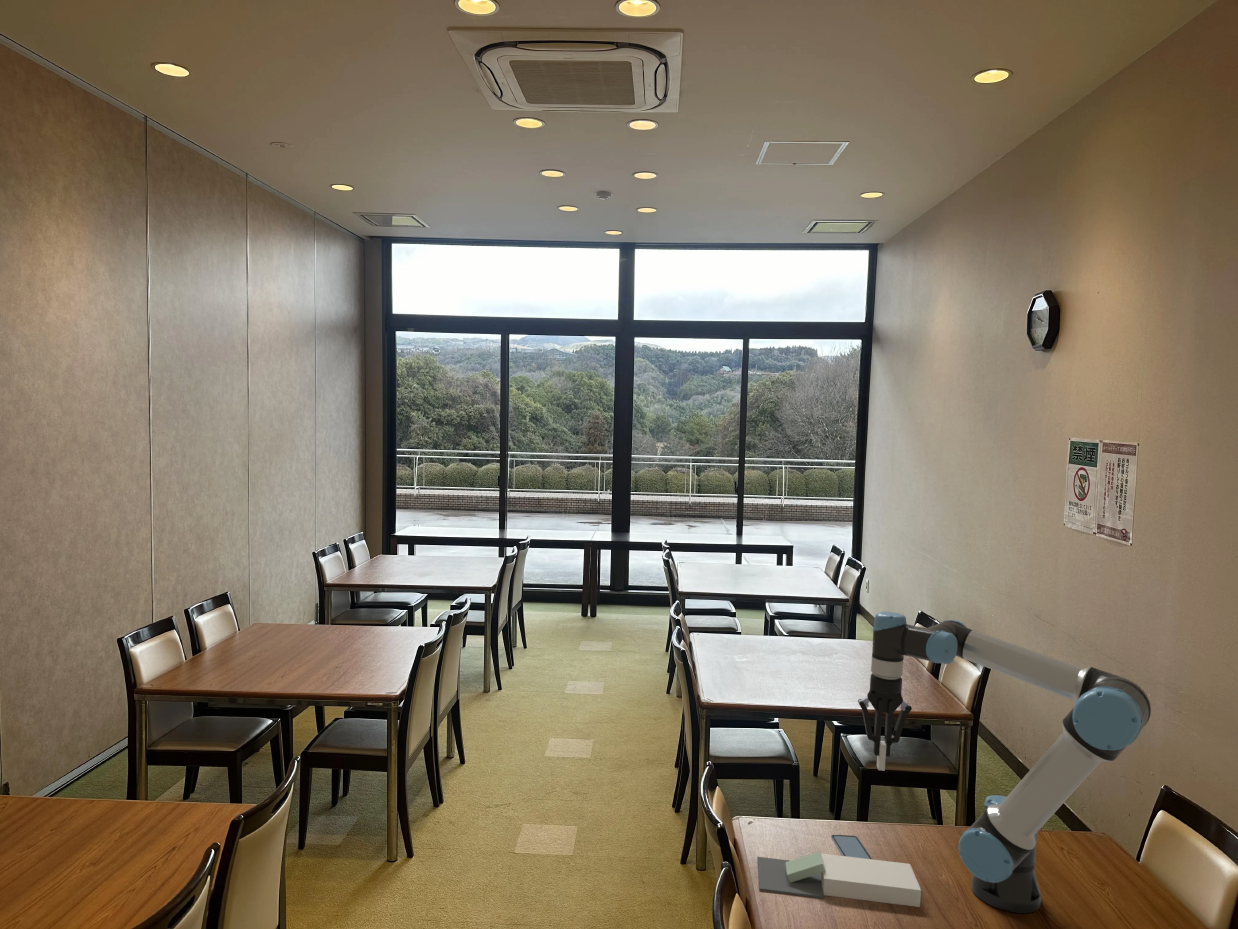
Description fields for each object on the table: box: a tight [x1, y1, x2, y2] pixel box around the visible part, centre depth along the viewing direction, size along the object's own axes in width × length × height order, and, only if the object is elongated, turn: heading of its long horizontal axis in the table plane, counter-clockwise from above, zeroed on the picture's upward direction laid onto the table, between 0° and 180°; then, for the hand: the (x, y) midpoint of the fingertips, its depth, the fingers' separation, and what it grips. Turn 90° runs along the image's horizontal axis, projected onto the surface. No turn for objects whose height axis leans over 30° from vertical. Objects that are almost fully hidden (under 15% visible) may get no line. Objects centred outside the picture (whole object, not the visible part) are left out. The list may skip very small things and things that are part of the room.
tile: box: [786, 851, 826, 883], centre depth 199 cm, size 9×6×2 cm, turn 83°
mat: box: [757, 856, 825, 899], centre depth 200 cm, size 15×15×1 cm
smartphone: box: [830, 834, 873, 859], centre depth 215 cm, size 7×1×15 cm
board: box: [820, 852, 922, 908], centre depth 197 cm, size 22×12×4 cm, turn 82°
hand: (880, 768), depth 204 cm, fingers closed
